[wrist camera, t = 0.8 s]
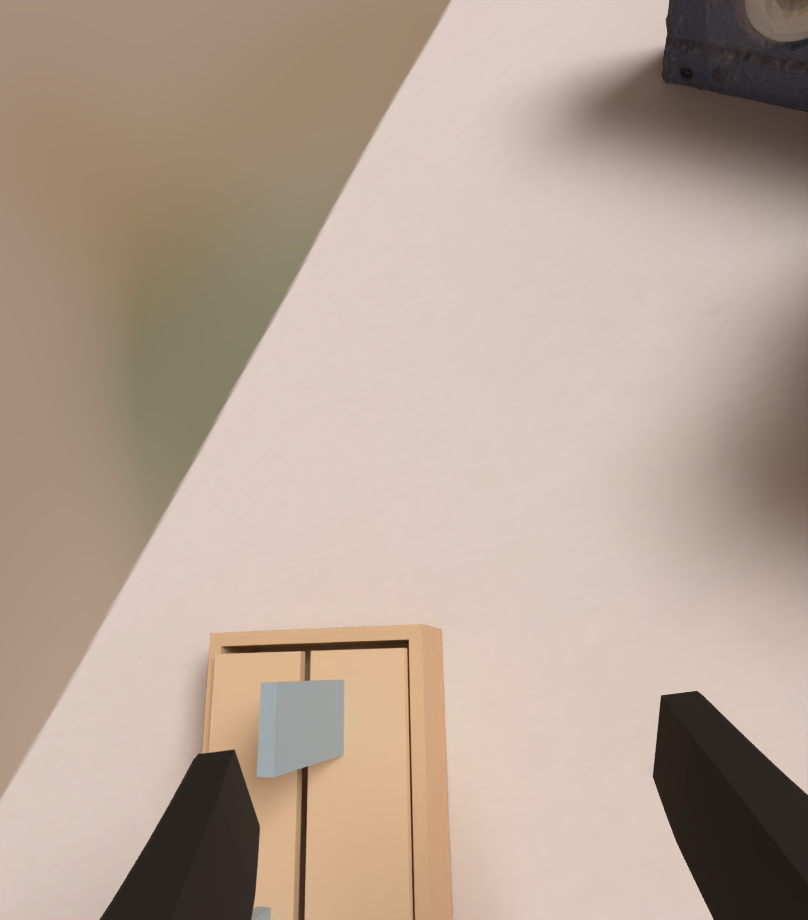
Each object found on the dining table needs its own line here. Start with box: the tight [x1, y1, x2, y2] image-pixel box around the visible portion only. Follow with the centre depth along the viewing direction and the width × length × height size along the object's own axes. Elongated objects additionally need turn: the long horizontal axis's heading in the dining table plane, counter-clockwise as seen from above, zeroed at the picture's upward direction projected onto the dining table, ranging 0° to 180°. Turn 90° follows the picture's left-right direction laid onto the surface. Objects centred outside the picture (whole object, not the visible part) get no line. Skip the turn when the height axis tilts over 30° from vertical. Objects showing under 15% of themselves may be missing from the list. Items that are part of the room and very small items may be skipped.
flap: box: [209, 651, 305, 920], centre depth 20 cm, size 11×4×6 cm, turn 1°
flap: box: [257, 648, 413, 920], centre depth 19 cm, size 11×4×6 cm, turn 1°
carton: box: [202, 624, 452, 920], centre depth 23 cm, size 13×8×3 cm, turn 1°
